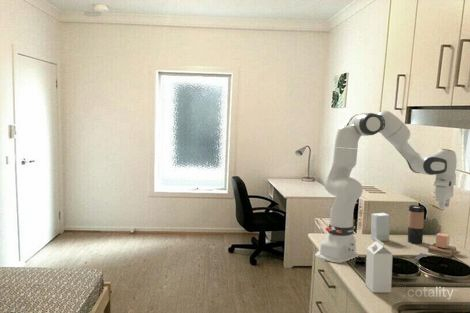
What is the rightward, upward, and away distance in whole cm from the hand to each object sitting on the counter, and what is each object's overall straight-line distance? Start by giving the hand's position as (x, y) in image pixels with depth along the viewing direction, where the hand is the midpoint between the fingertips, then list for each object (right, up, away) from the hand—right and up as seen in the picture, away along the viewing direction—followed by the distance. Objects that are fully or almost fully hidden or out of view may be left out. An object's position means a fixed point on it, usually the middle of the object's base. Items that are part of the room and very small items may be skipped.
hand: (444, 208), depth 183 cm
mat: (-13, -23, -10) cm, 28 cm away
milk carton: (-51, -26, -43) cm, 71 cm away
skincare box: (-24, -21, +21) cm, 39 cm away
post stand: (0, -22, +2) cm, 23 cm away
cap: (0, -20, +1) cm, 20 cm away
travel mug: (-6, -22, +17) cm, 28 cm away
